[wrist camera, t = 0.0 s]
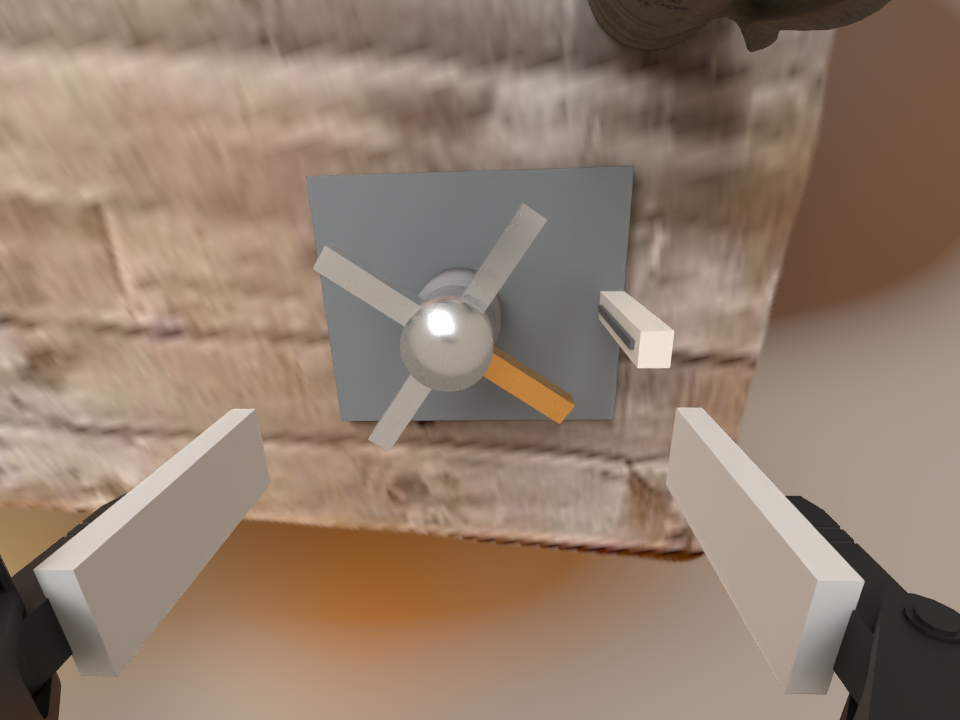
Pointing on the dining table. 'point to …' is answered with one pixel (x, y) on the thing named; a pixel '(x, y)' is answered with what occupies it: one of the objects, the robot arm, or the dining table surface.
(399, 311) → the capstan
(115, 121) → the dining table surface
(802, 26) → the beer stein
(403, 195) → the stand
